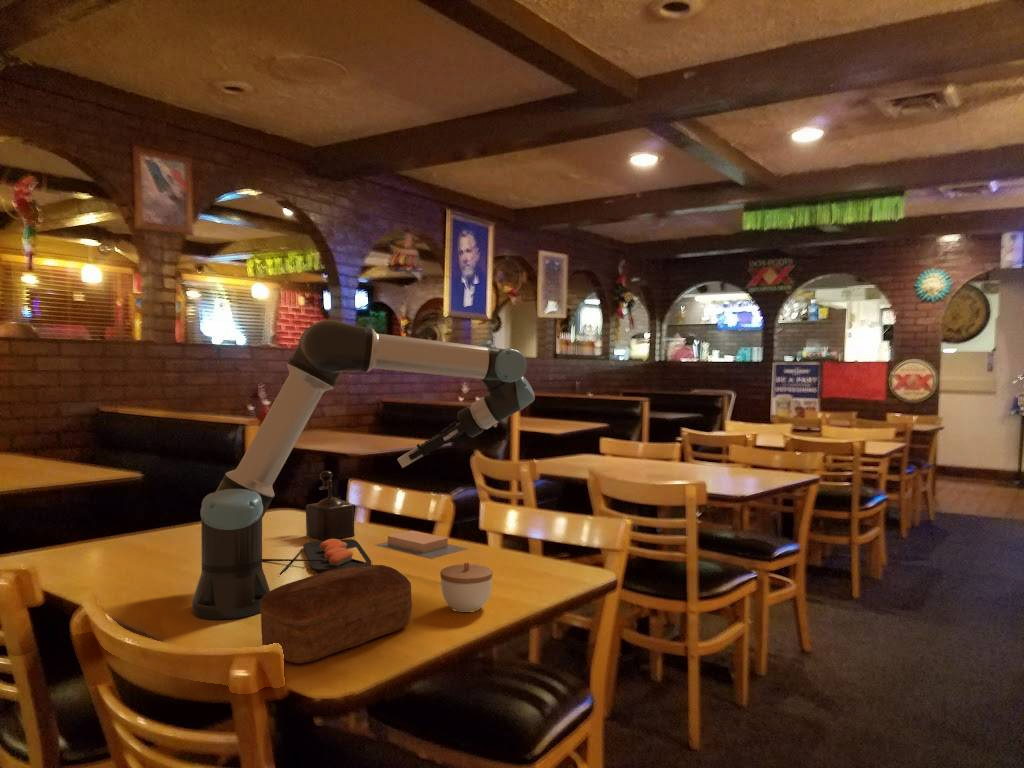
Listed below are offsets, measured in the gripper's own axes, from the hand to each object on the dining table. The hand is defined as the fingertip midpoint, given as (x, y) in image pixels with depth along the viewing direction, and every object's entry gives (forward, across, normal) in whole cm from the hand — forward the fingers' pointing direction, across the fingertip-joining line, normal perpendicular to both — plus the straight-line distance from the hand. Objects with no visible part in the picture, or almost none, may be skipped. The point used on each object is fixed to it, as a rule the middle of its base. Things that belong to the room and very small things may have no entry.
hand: (400, 462), depth 190 cm
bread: (+6, -59, -19) cm, 62 cm away
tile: (+5, +4, -24) cm, 25 cm away
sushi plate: (+33, -8, -9) cm, 35 cm away
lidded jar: (-10, -38, -30) cm, 50 cm away
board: (+11, +7, -24) cm, 27 cm away
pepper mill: (+39, +21, -9) cm, 45 cm away
